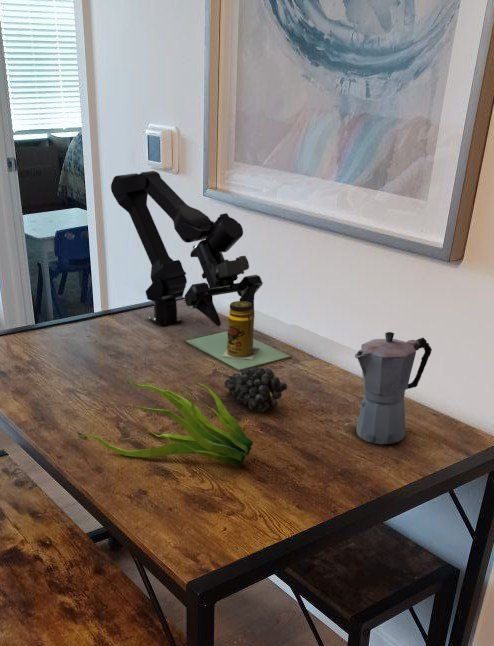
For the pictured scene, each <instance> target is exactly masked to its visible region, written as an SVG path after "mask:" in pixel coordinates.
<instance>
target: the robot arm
mask: <svg viewBox="0 0 494 646" xmlns="http://www.w3.org/2000/svg"><path fill="white" fill-rule="evenodd" d="M110 190H111V193H112V195H113V197H114V199H115V201H116V202H117V204H118V205H119V207H121V208H122V209H123V210H125V211H126V212H127V213H128V215H129V217H130V219H131V221H132V224H133V225H134V228H135V230H136V232H137V235H138V237H139V239H140V242H141V244H142V246H143V249H144V251H145V253H146V255H147V257H148V260H149V262H150V265H151V268H150V280H151V284H150V285H149V286H148V288H147V289H146V290H145V295H146V299H147V300H148V301H151V302H153V316H152V317H148V318H149V321H151V322H153V323H155V324H157V325H158V326H160V327H164V326H168V325H173V324H178V323H182V322H183V321H182V320H183V319H181V318H179V317H178V306H177V305H178V304H177V303H178V301H177V299H178V298H181V297H183V296H184V302H185V304H186V306H187V307H192V309H193V310H194V309H197V310H198V311H199V312H201V313H202V314H203V315H204V316H205V317H207V319H209V320H210V321H211V322H212V323H213V324H215V326H216V327H221V325H222V322H221V319H220V316H219V314H218V312H217V308H216V307H215V304H214V300H213V299H214V298H213V296H219V295H226V294H232V293H237V296H239V297H240V298H239V299H238V301H247V302H250V303H252V305H253V309H252V310H253V316H254V317H255V294H256V293H257V292H258V291H259V290H260V289H261V287H262V286H263V285H264V282H263V280H262V278H261V276H260V275H258V274H251V275H245V276H244V277H243V278H242V279H241V280H240V282H236V283H235V281H237V280H238V278H239V277H238V276H240V275H244V274H245V271H247V270H249V269H250V263H249V260H248V258H247V256H246V255H240V256H238V257H236V258H235V259H233V260H229V259H225V257H224V254H223V253H227V252H229V250H230V249H231V248H233V246H235V244H236V243H238V241H239V240H240V239H241V238H242V237H243V235H244V228H243V226H242V224H241V223H240V222H238V221H237V220H236V219H235V218H234V217H231V216H230V215H229V214H228V213H227V212H226V213H221V214H219V216H218V217H217V219H216V220H215V221H213V220H211V218H209V216H207V214H205V213H204V212H202V211H201V210H200V209H198V208H194V207H192V206H190V205H189V204H187V203H186V202H185V201H184V200H183V199H182V198H181V197H180V196H179V195H178V194H177V193H176V191H174V190H173V188H171V187H170V185H168V183H166V181H164V179H163V178H162V176H161V174H160V173H159V172H158V171H155V170H149V171H142V172H140V173H137V172H135V173H128V174H127V173H126V174H119V175H115V176H114V177H113V179H112V181H111V183H110ZM148 196H149V197H150V198H151V199H152V200H153V201H154V202H155V203H156V204H157V205H158V206H159V207H160V209H161V210H162V211H164V213H165V214H167V216H168V217H169V218H170V219H171V221H172V222H173V226H174V230H175V232H176V233H177V235H178V236H179V237H180V239H181V240H182V242H184V243H186V244H187V243H188V244H189V243H194V242H198V241H199V242H198V243H197V244H195V245H194V244H193V245H192V250H191V252H190V255H189V256H190V258H197V260H198V262H199V264H200V267H201V269H202V273H201V277H202V279H203V280H204V279H205V280H206V282H199V283H192V284H191V286H189V288H188V289H187V291H186V293H185V290H186V288H187V287H186V286H187V283H188V279H187V277H186V275H187V272H186V271H185V269H184V268H183V264H182V262H181V260H179V259H176V260H174V259H173V258H172V257H170V255H169V253H168V250H167V248H166V246H165V243H164V241H163V238H162V236H161V234H160V232H159V230H158V228H157V226H156V223H155V220H154V218H153V216H152V214H151V212H150V209H149V207H148V204H147V203H148Z"/></svg>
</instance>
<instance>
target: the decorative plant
mask: <svg viewBox="0 0 494 646" xmlns="http://www.w3.org/2000/svg"><path fill="white" fill-rule="evenodd" d="M116 367H117V369H118V370H119V371H120V372H121V374H122V375H123V376H124V377H125V379H127V380H128V381H129V382H130V383H131V384H132V385H134V386H136V387H138V388H142V389H147V390H151V391H154V392H156V393H157V394H159V395H162V396H163V397H164V398H166V399H167V400H168V401H169V402H170V403H171V404H172V405H173V406H174V407H175V408H176V409H177V410H178V411H179V412H180V413H181V415H182V416H183V418H182V417H181V416H179V415H177V414H176V413H174V412H172V411H170V410H169V409H162V408H152V407H151V408H149V407H144V406H139V405H132V404H128V403H125V402H121V401H118V403H119V404H123V405H126V406H131V407H134V408H138V409H141V410H145V411H149V412H153V413H159V414H165V415H168V416H169V417H170V418H172V419H173V420H174V421H175V422H176V423H177V424H178V425H180V426H181V427H182V428H183V429H184V431H186V432H187V433H188V434H189V435H182V434H181V435H180V434H171V433H162V434H160V435H158V434H156V433H155V432H153V431H151V430H150V429H149V428H147V427H146V426H145V425H144V424H143V427H144V428H145V429H147V430H148V432H149V433H151V434H153V435H154V436H156V437H158V438H160V439H161V438H165V439H167V440H169V441H172V442H173V443H169V444H165V445H161V446H156V447H152V448H145V449H136V450H135V449H134V450H125V449H123V448H120V447H117V446H114V445H111V444H109V443H108V442H107V441H105V440H103V439H102V438H100V437H99V436H96V435H92V434H79V435H73V436H69V437H65V440H68V439H71V438H75V437H90V438H93V439H95V440H97V441H99V442H100V443H101V444H102V445H103V446H104V447H106V448H107V449H109V450H111V451H114V452H115V453H118V454H120V455H123V456H125V457H135V458H136V457H137V458H147V459H148V458H150V459H153V458H158V457H165V456H170V455H171V456H172V455H184V454H198V455H201V456H205V457H207V458H210V459H212V460H215V461H219V462H223V463H227V464H230V465H233V466H235V467H237V468H240V467H241V466H242V464H243V463H244V460H245V459H246V457H247V456H248V455H249V454H250V452H251V450H252V446H253V444H254V441H253V440H251V439H250V438H249V437H248V436H247V435H246V434H245V432H244V430H243V429H242V428H241V426H240V425H239V424H238V422H237V420H236V418H235V417H234V416H233V415H231V414H230V412H229V411H228V410H227V408H226V406H225V405H224V403H223V402H222V400H221V399H220V398H219V397H218V395H217V394H216V393H215V392H214V391H213V390H211V388H209V386H207V385H204V384H202V383H200V382H198V380H196V379H195V377H192V378H193V379H194V381H195V382H196V384H198V385H200V386H201V387H203V388H204V389H206V390H208V392H209V393H210V395H211V396H212V397H213V400H214V402H215V405H216V408H217V410H218V411H216V410H215V409H214V408H213V407H210V406H208V405H206V404H204V403H202V402H201V404H202V405H203V406H205V407H207V408H209V409H211V410H212V411H213V412H214V413H215V414H216V416H217V417H218V419H219V421H220V424H221V426H222V427H223V428H224V429H225V430H226V431H225V430H223V429H222V428H219V427H217V426H216V425H215V424H214V423H212V422H211V421H210V420H209V419H208V418H207V417H206V415H205V414H204V413H203V412H202V411H201V409H200V408H199V407H198V406H196V405H195V404H194V399H193V397H192V396H191V395H190V394H189V392H186V391H185V390H184V389H182V388H180V387H178V386H175V388H178V389H179V390H182V391H183V392H184V393H185V394H186V395H187V396H188V397H189V399H190V401H189V400H188V399H186V398H185V397H183V396H182V395H179V394H177V393H175V392H173V391H171V390H169V389H168V390H167V389H160V388H157V387H155V386H153V385H152V384H150V383H148V382H146V381H145V380H144V378H143V377H142V378H141V379H142V382H143V383H144V384H139V383H136V382H133V381H132V380H131V379H130V378H129V377H128V376H127V375H126V374H125V373H124V372H123V371H122V370H121V368H120V367H119V366H118V365H117V366H116Z"/></svg>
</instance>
